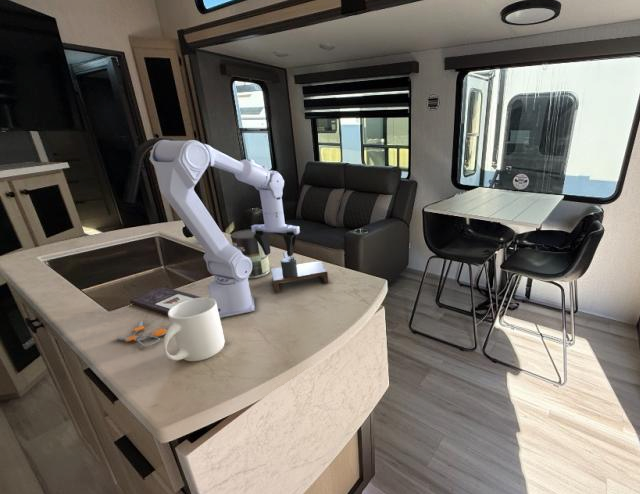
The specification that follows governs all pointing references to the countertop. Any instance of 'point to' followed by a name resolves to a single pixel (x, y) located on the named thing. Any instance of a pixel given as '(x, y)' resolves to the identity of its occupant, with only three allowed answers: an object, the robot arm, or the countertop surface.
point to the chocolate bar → (162, 299)
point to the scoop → (288, 266)
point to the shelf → (300, 273)
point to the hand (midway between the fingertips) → (279, 254)
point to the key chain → (140, 338)
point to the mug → (195, 330)
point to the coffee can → (251, 252)
